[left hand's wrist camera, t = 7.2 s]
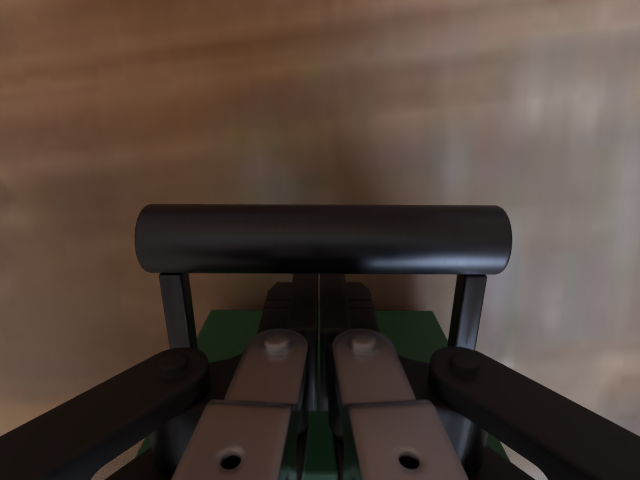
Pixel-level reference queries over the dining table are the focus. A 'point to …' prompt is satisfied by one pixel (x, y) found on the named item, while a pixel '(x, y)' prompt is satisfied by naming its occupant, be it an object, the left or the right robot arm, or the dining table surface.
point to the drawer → (323, 272)
